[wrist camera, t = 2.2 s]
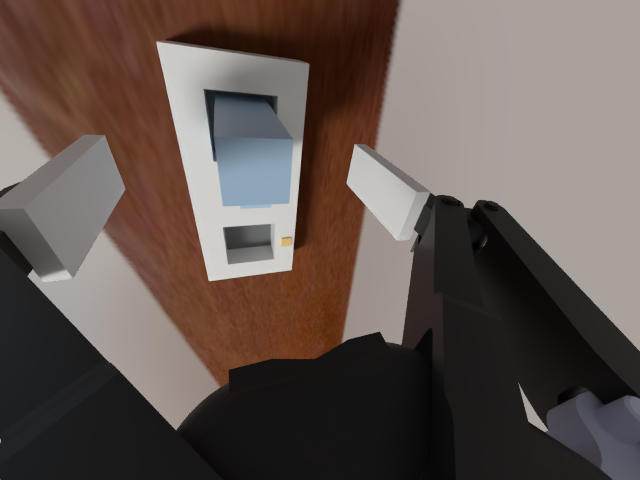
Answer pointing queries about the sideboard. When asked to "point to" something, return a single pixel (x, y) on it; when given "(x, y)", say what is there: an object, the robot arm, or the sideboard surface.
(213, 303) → the sideboard surface
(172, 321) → the sideboard surface
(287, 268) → the panel
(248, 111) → the plug
